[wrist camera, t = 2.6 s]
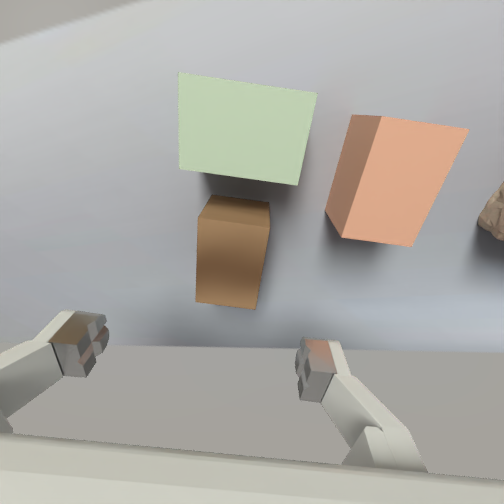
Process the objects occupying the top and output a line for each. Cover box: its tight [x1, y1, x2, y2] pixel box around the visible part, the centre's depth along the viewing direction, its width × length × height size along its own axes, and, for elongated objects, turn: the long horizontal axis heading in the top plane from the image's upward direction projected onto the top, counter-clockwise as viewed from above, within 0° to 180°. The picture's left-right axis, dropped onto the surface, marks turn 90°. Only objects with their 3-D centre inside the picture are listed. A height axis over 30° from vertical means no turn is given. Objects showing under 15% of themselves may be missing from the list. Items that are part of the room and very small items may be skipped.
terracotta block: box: [325, 115, 470, 247], centre depth 15 cm, size 6×4×4 cm, turn 173°
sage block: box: [178, 72, 318, 186], centre depth 14 cm, size 6×4×4 cm, turn 83°
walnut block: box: [196, 195, 270, 310], centre depth 17 cm, size 6×4×4 cm, turn 173°
